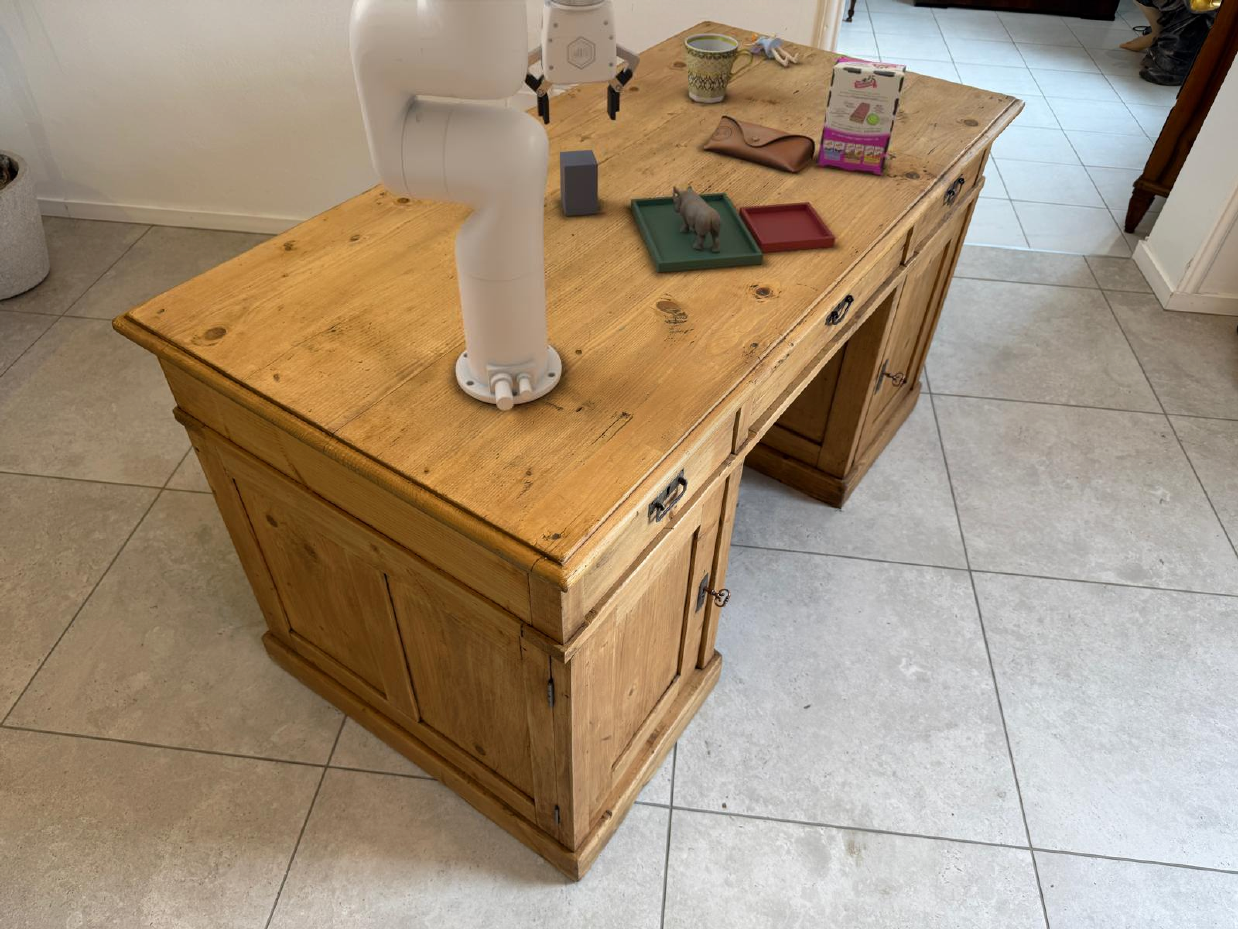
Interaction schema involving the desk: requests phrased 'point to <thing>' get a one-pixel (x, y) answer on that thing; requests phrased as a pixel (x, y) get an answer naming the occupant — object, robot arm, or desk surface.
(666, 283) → the desk surface
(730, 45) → the ceramic cup
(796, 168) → the sunglasses case
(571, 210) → the block
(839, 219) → the desk surface
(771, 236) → the burgundy tray
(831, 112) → the candy bar box
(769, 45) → the fairy figurine
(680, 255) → the green tray
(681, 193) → the rhino figurine
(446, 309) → the desk surface
